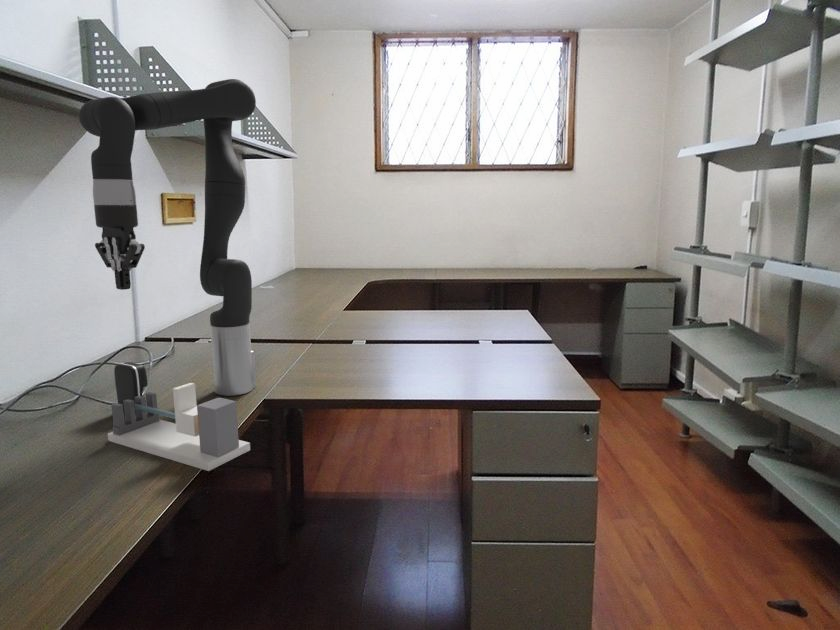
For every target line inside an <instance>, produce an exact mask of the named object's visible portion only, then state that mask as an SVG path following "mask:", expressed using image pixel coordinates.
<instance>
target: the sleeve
mask: <svg viewBox="0 0 840 630" xmlns="http://www.w3.org/2000/svg"><path fill="white" fill-rule="evenodd" d="M172 395H173V405H174V413H175V420H174V421H175V424H176V432H179V433H183V434H187V435H190V436H194V437H196V436H198V435H199V434H198V421H197V418H198V413H197V405H198V404H197V393H196V384H195V383H194V382H189V383H185V384H183V385H180V386H175V387H173V388H172Z"/></svg>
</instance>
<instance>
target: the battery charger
mask: <svg viewBox="0 0 840 630" xmlns="http://www.w3.org/2000/svg"><path fill="white" fill-rule="evenodd" d="M113 374H114V382H115V390H116V391H115V392H116V397H117V403H119V404H122V405H123V413H124V404H123V401H124V400H127V399H129V400H133V401H134V403H135V397H136V396H142V397H143V391H144V388H147V387H148V385H149V384H148V376H147V370H146V367H145V366H144V365H143V364H141V363H136V362H130V361H127V362H124V363H123V362H122V363H118V364H117V365H115V366H114V373H113ZM135 414H136V409H135Z"/></svg>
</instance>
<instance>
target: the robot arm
mask: <svg viewBox="0 0 840 630" xmlns="http://www.w3.org/2000/svg"><path fill="white" fill-rule="evenodd" d="M256 106H257V101H256V94H255V93H254V91H253V89H252V87H251V86H250V85H249V84H248V83H247V82H245V81H244V80H241V79H237V78H229V79H224V80H218V81H213V82H211V83H209V84H207V85H206V87H205V88H200V89H190V90H177V91H176V90H174V91H162V92H160V91H158V92H149V93H141V94H136V95H132V96H129V97H117V96H107V97H102V98H95V99H91V100H88V101H86V102H85V103H84V104H83V105H82V106H81V108H80V110H79V112H78V118H79V123H80V124H81V126H82V128H84V129H85V131H87V132H88V133H89V134H90V135H93V136H95V137H98V138H99V141H98V142H99V144H98V147H97V148H96V149H94V150H93V151H92V152H91V156H90V161H91V163H90V165H91V173H92V200H93V209H94V218H95V225H96V227H97V228H101V229H102V232H101V239H102V240H101V241H100V242H95V243H94V247H95V248H96V251H97V253H98V254H99V256H100V258H101V259H102V262H103V263H104V264H105V266H106V268H107V269H108V268H110V269H111V271H112V272H113V273H114V280H115V287H116V289H117V290H120V291H121V290H122V291H124V290H130V289H131V287H132V286H131V285H132V284H131V274H130V272H131V270H133V269H134V268H137V267H138V265H139V262H140V261H141V258H142V255H143V254H144V250H145V244H144V243H139V241H137V240H136V239H137V237H136V233H135V231H134V228H137V227H138V225H139V218H138V209H137V199H136V189H135V185H134V181H133V168H132V160H131V159H132V153H133V148H134V142H135V135H136V131H151V130H158V129H164V128H171V127H174V126H179V125H185V124H187V123H193V122H197V121H202V120H203V127H204V130H203V131H204V145H205V147H204V149H205V151H204V153H205V155H204V156H205V159H204V160H205V171H204V172H205V174H204V177H205V178H204V225H203V227H204V228H203V239H202V241H203V243H202V251H201V258H200V264H199V265H200V266H199V269H200V270H199V279H200V280H199V281H200V285H201V288H202V289H203V291H204V292H205V293H206V294H207V295H209V296H215V297H223V298H222V300H223V301H222V307H221V308H220V309H217V310H215V311H213V312H211V314H210V315H209V323H210V324H209V325H210V336H211V337H210V339H211V351H212V352H211V353H212V367H213V368H212V369H213V381H214V383H213V384H214V393H215V394H217V395H219V396H228V397H230V396H231V397H232V396H238V395H243V394H248V393H250V392H251V391H252V390H253V389H254V388H256V387H257V382H256V381H257V379H256V364H255V362H256V361H255V352H254V350H252V346H251V345H252V344H251V328H250V327H251V325H250V316H251V312H252V307H253V305H252V303H253V302H252V301H253V298H252V297H253V295H252V294H253V290H252V289H253V285H252V283H253V281H252V273H251V269H250V267H249V265H248V264H247V263H246V262H245V261H244V260H242V259H235V258H234V259H232V258H228V247H229V241H230V238H231V234H232V232H233V230H234V229H235V226H236V224H237V223H238V221H239V219H240V218H241V215H242V214H243V211H244V208H245V203H246V199H245V198H246V177H245V175H244V174H245V173H244V171H243V168H242V166H241V164H240V162H239V159H238V157H237V155H236V153H235V150H234V147H233V141H232V137H233V136H232V135H233V134H232V132H233V130H232V129H233V122H237V121H243V120H245V119H248V118H250V116H251V115H252V114H253V113H254V112H255V110H256Z"/></svg>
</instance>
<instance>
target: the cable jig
mask: <svg viewBox="0 0 840 630" xmlns="http://www.w3.org/2000/svg"><path fill="white" fill-rule="evenodd" d="M157 401H158V400H157V393H155V392H152V391H151V392H146V393H145V396H143V395H142V396H136V397H135V403H134V401H133V400H129V399H127V400H124V401H123V404H124V413H123V405H122V404H119V403H118V402H115V403H111V405H110V406H111V413H112V415H111V416H112V421H113V423H112V424H113V426H112V431H111V432H108V433H107V439H108V440H107V441H108V442H111V443H114V444H118V445H121V446H125V447H126V448H127V447H128V448H131V449H134V450H138V451H141V452H145V453H148V454H150V455H154V456H157V457H161V458H163V459H164V458H165V459H168V460H170V461H173V462H178V463H180V464H183V465H188V466H190V467H192V468H193V467H194V468H196V469H200V470H203V471H207V472H210V471H213V470H214V469H216V468H217V467H219V466H221V465H223V464H226V463H228V462H229V461H231V460H233V459H235V458H237V457H239V456H241V455H244V454H246V453H247V452H249V451H251V442H248V441H245V440H241V439H239V424H238V407H237V401H236V400H232V399H228V398H222V397H216V398H214V399H211V400H208V401H205V402H202V403H200V404H197V413H198V418H197V421H198V434H199V435H198V436H196V437H194V436H190V435H187V434H183V433H179V432H176V422H171V421H167V420H164V419H160V416H164V417H167V418H171V419H175V412H172V411H168V410H164V409H159V408H158V402H157ZM135 409H136V414H135Z"/></svg>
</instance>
